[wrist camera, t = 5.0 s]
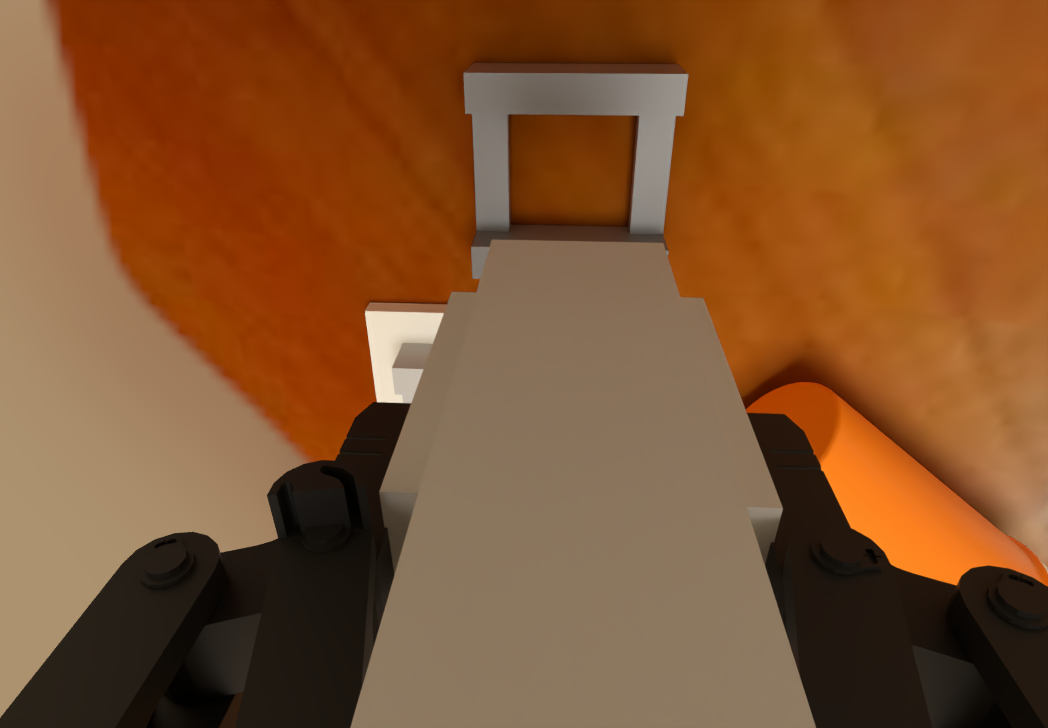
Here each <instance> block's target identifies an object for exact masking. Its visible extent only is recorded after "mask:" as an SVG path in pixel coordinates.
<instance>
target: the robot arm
mask: <svg viewBox="0 0 1048 728" xmlns="http://www.w3.org/2000/svg"><path fill="white" fill-rule="evenodd" d="M475 296H476V292H451V295H450V298H449V300H448V303H447V306H446V309H445V311H444V314H443V317H442V320H441V323H440V325H439V328H438V331H437V334H436V336H435V339H434V342H433V345H432V347H431V350H430V353H429V356H428V358H427V361H426V364H425V367H424V370H423V372H422V375H421V378H420V381H419V383H418V386H417V389H416V392H415V394H414V397H413V400H412V403H388V402H373V403H372V404H371V405H370V406H368V407H367V408H366V409H365V410H364V411H363V412H361V413H360V414H359V415H358V416H357V417H355V419H354V422H353V424H352V426H351V428H350V430H349V432H348V434H347V439H345V441H344V443H343V445H342V447H341V449H340V454H339V455H337V458H336V460H335V461H328V460H321V461H316V462H312V463H307V464H303V465H301V466H299V467H296V468H295V469H292V470H290V471H288V472H286V473H285V474H284V475H283V476H282V477H280V478H279V479H278V480H277V481H276V482H275V483H274V484H273V486H272V488H271V489H270V491H269V493H268V494H267V497H268V501H269V505H270V508H271V512H272V516H273V520H274V524H275V527H276V531H277V535H278V539H276V540H274V541H271V542H268V543H264V544H261V545H258V546H252V547H247V548H242V549H238V550H232V551H227V552H222V553H220V551H219V548H218V544H216V542H214V541H213V540H212V539H211V538H210V537H209V536H207V535H203V534H199V533H195V532H187V533H174V534H171V535H168V536H165V537H161V538H158V539H155V540H153V541H152V542H150V543H148V544H146V545H145V546H143V547H141V548H139V549H138V550H136V551H135V552H134V553H133V554H132V555H131V556H130V557H129V558H128V559H127V560H126V561H125V562H124V563H123V564H122V565H121V566H120V567H119V569H118V570H117V571H116V572H115V574H114V575H113V576H112V577H111V579H110V580H109V581H108V582H107V584H106V585H105V586H104V588H103V589H102V590H101V591H100V593H99V594H98V595H97V596H96V598H95V599H94V600H93V601H92V603H91V604H90V605H89V606H88V608H87V609H86V610H85V612H84V613H83V614H82V616H81V617H80V618H79V619H78V620H77V622H76V623H75V624H74V625H73V627H72V628H71V629H70V630H69V632H68V633H67V634H66V636H65V637H64V638H63V640H62V641H61V642H60V643H59V645H58V646H57V647H56V648H55V650H54V651H53V652H52V653H51V655H50V656H49V657H48V658H47V660H46V661H45V662H44V663H43V665H42V666H41V667H40V669H39V670H38V671H37V672H36V673H35V675H34V676H33V677H32V679H31V680H30V681H29V682H28V684H27V685H26V686H25V687H24V689H23V690H22V691H21V693H20V694H19V695H18V696H17V697H16V699H15V700H14V701H13V703H12V704H11V705H10V706H9V708H8V709H7V710H6V711H5V713H4V714H3V715H2V716H1V718H0V728H350V727H351V724H352V720H353V717H354V713H355V710H356V706H357V703H358V699H359V696H360V693H361V689H362V686H363V682H364V679H365V675H366V672H367V668H368V665H369V662H370V658H371V655H372V651H373V648H374V644H375V641H376V637H377V634H378V630H379V627H380V624H381V620H382V617H383V613H384V610H385V606H386V603H387V599H388V596H389V592H390V589H391V586H392V582H393V579H394V575H395V572H396V568H397V565H398V561H399V558H400V555H401V551H402V548H403V544H404V541H405V537H406V534H407V530H408V527H409V523H410V520H411V517H412V513H413V510H414V506H415V503H416V499H417V496H418V492H419V489H420V485H421V482H422V479H423V475H424V472H425V468H426V465H427V461H428V458H429V454H430V451H431V448H432V444H433V441H434V437H435V434H436V430H437V427H438V423H439V420H440V416H441V413H442V410H443V406H444V403H445V399H446V396H447V392H448V389H449V385H450V382H451V378H452V375H453V372H454V368H455V365H456V361H457V358H458V354H459V351H460V347H461V344H462V341H463V337H464V334H465V330H466V327H467V323H468V320H469V316H470V313H471V309H472V306H473V303H474V299H475ZM680 298H681V301H682V304H683V308H684V311H685V314H686V317H687V320H688V323H689V327H690V330H691V333H692V336H693V339H694V342H695V346H696V349H697V352H698V355H699V358H700V361H701V365H702V368H703V371H704V374H705V377H706V380H707V384H708V387H709V390H710V393H711V396H712V399H713V403H714V406H715V409H716V412H717V415H718V418H719V422H720V425H721V428H722V431H723V434H724V437H725V441H726V444H727V447H728V450H729V453H730V457H731V460H732V463H733V466H734V469H735V472H736V476H737V479H738V482H739V485H740V488H741V491H742V495H743V498H744V501H745V504H746V507H747V510H748V514H749V517H750V520H751V523H752V526H753V529H754V533H755V536H756V539H757V542H758V545H759V548H760V552H761V555H762V558H763V561H764V564H765V567H766V571H767V574H768V577H769V580H770V583H771V587H772V590H773V593H774V596H775V599H776V602H777V606H778V609H779V612H780V615H781V618H782V621H783V625H784V628H785V631H786V634H787V637H788V640H789V644H790V647H791V650H792V653H793V656H794V659H795V663H796V666H797V669H798V672H799V675H800V678H801V682H802V685H803V688H804V691H805V694H806V697H807V701H808V704H809V707H810V710H811V713H812V716H813V720H814V723H815V726H816V728H1048V586H1046V585H1044V584H1043V583H1041V582H1039V581H1038V580H1036V579H1035V578H1033V577H1031V576H1028V575H1025V574H1023V573H1020V572H1017V571H1015V570H1012V569H1009V568H1003V567H996V566H990V565H988V566H981V567H974V568H971V569H970V570H968V571H967V572H966V573H964V574H963V575H962V576H961V578H960V580H959V582H958V584H957V585H953V584H950V583H946V582H942V581H939V580H935V579H932V578H928V577H924V576H921V575H917V574H914V573H911V572H908V571H905V570H902V569H900V568H897V567H895V566H893V565H891V564H890V562H889V560H888V558H887V556H886V554H885V552H884V551H883V550H882V549H881V548H880V547H879V546H878V545H877V544H876V543H875V542H874V541H873V540H871V539H870V538H868V537H867V536H865V535H863V534H861V533H860V532H858V531H856V530H854V529H852V528H851V527H850V525H849V523H848V521H847V519H846V517H845V514H844V512H843V510H842V508H841V506H840V504H839V502H838V500H837V498H836V496H835V494H834V492H833V490H832V488H831V486H830V484H829V482H828V479H827V477H826V475H825V473H824V471H821V465H820V463H819V461H818V459H817V457H816V455H814V454H813V452H814V451H813V449H812V446H811V444H810V442H809V440H808V438H807V436H806V434H805V432H804V431H803V430H802V429H801V428H800V427H799V426H798V425H796V424H795V423H794V422H793V421H792V420H791V419H790V418H788V417H787V416H786V415H785V414H771V413H747V412H746V410H745V407H744V404H743V402H742V399H741V396H740V394H739V391H738V388H737V386H736V383H735V381H734V378H733V375H732V373H731V370H730V367H729V365H728V362H727V359H726V357H725V354H724V352H723V349H722V346H721V344H720V341H719V338H718V336H717V333H716V330H715V328H714V325H713V323H712V320H711V317H710V315H709V312H708V309H707V307H706V304H705V301H704V299H703V298H685V297H680Z"/></svg>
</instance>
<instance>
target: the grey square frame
mask: <svg viewBox="0 0 1048 728" xmlns="http://www.w3.org/2000/svg"><path fill="white" fill-rule="evenodd" d="M463 74H464V97H465V114H472V125H473V150H474V176H475V201H476V227H477V231H476V234H475V237H474V240H473V243H472V246H471V255H472V278H473V279H480V278H481V275H482V271H483V268H484V265H485V261H486V258H487V254H488V251H489V247H490V244H491V240H541V241H591V242H641V243H663V244H664V247H665V250H666V254H667V257H668V248H667V245H666V242H665V239H664V236H663V230H664V221H665V211H666V202H667V193H668V183H669V174H670V165H671V156H672V146H673V137H674V128H675V118H676V116H684V109H685V100H686V91H687V82H688V73H687V72H686V71H685V70H684V69H682V68H681V67H680V66H679V65H678V64H592V63H473V64H472V65H471V66H470V67H469V68H468V69H467V70H466V71H465V72H464V73H463ZM509 114H531V115H636V116H637V121H636V134H635V147H634V159H633V172H632V184H631V197H630V210H629V222H628V227H626V226H571V225H516V224H511V197H510V116H509Z"/></svg>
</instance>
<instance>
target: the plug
mask: <svg viewBox="0 0 1048 728" xmlns="http://www.w3.org/2000/svg"><path fill="white" fill-rule="evenodd" d="M350 728H816V726H815V723H814V720H813V716H812V713H811V710H810V707H809V704H808V701H807V697H806V694H805V691H804V688H803V685H802V682H801V678H800V675H799V672H798V669H797V666H796V663H795V659H794V656H793V653H792V650H791V647H790V644H789V640H788V637H787V634H786V631H785V628H784V625H783V621H782V618H781V615H780V612H779V609H778V606H777V602H776V599H775V596H774V593H773V590H772V587H771V583H770V580H769V577H768V574H767V571H766V567H765V564H764V561H763V558H762V555H761V552H760V548H759V545H758V542H757V539H756V536H755V533H754V529H753V526H752V523H751V520H750V517H749V514H748V510H747V507H746V504H745V501H744V498H743V495H742V491H741V488H740V485H739V482H738V479H737V476H736V472H735V469H734V466H733V463H732V460H731V457H730V453H729V450H728V447H727V444H726V441H725V437H724V434H723V431H722V428H721V425H720V422H719V418H718V415H717V412H716V409H715V406H714V403H713V399H712V396H711V393H710V390H709V387H708V384H707V380H706V377H705V374H704V371H703V368H702V365H701V361H700V358H699V355H698V352H697V349H696V346H695V342H694V339H693V336H692V333H691V330H690V327H689V323H688V320H687V317H686V314H685V311H684V308H683V304H682V301H681V298H680V295H679V292H678V288H677V285H676V282H675V279H674V276H673V273H672V269H671V266H670V263H669V260H668V257H667V254H666V250H665V247H664V244H663V243H641V242H591V241H541V240H491V244H490V247H489V251H488V254H487V258H486V261H485V265H484V268H483V271H482V275H481V278H480V282H479V285H478V289H477V292H476V296H475V299H474V303H473V306H472V309H471V313H470V316H469V320H468V323H467V327H466V330H465V334H464V337H463V341H462V344H461V347H460V351H459V354H458V358H457V361H456V365H455V368H454V372H453V375H452V378H451V382H450V385H449V389H448V392H447V396H446V399H445V403H444V406H443V410H442V413H441V416H440V420H439V423H438V427H437V430H436V434H435V437H434V441H433V444H432V448H431V451H430V454H429V458H428V461H427V465H426V468H425V472H424V475H423V479H422V482H421V485H420V489H419V492H418V496H417V499H416V503H415V506H414V510H413V513H412V517H411V520H410V523H409V527H408V530H407V534H406V537H405V541H404V544H403V548H402V551H401V555H400V558H399V561H398V565H397V568H396V572H395V575H394V579H393V582H392V586H391V589H390V592H389V596H388V599H387V603H386V606H385V610H384V613H383V617H382V620H381V624H380V627H379V630H378V634H377V637H376V641H375V644H374V648H373V651H372V655H371V658H370V662H369V665H368V668H367V672H366V675H365V679H364V682H363V686H362V689H361V693H360V696H359V699H358V703H357V706H356V710H355V713H354V717H353V720H352V724H351V727H350Z"/></svg>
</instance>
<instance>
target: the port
mask: <svg viewBox="0 0 1048 728" xmlns="http://www.w3.org/2000/svg"><path fill="white" fill-rule="evenodd" d="M446 306H447V304H414V303H373V302H370V303H369V305H368V306H367V308H366V310H365V316H366V324H367V331H368V339H369V346H370V353H371V361H372V368H373V376H374V383H375V390H376V398H377V402H388V403H412V400H413V397H414V394H415V392H416V389H417V386H418V383H419V381H420V378H421V375H422V372H423V370H424V367H425V364H426V361H427V358H428V356H429V353H430V350H431V347H432V345H433V342H434V339H435V336H436V334H437V331H438V328H439V325H440V323H441V320H442V317H443V314H444V311H445V309H446Z"/></svg>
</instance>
